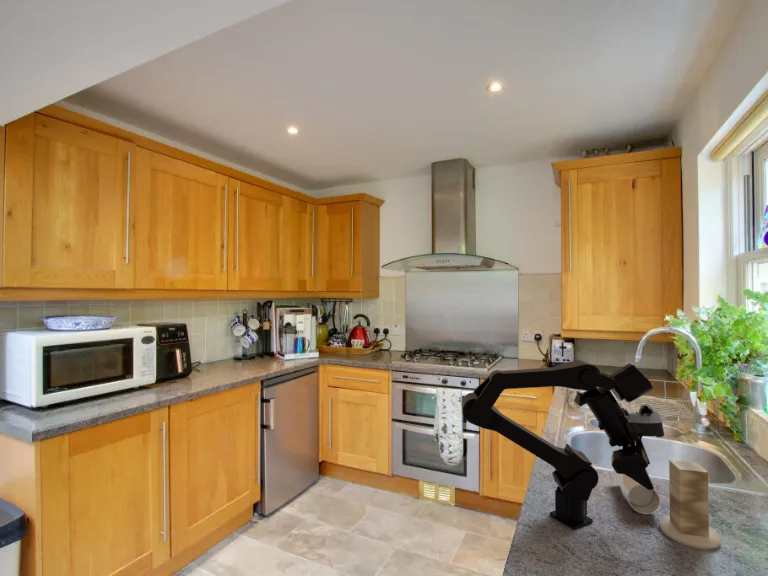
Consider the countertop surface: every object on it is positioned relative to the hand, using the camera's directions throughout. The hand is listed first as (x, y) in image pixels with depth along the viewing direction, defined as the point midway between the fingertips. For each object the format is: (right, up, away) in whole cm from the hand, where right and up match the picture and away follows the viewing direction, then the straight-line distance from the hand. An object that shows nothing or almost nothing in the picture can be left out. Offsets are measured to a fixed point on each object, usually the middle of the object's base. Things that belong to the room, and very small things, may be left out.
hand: (649, 476), depth 88 cm
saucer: (+6, -11, -4) cm, 13 cm away
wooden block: (+6, -9, -4) cm, 12 cm away
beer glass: (+6, -8, +18) cm, 21 cm away
